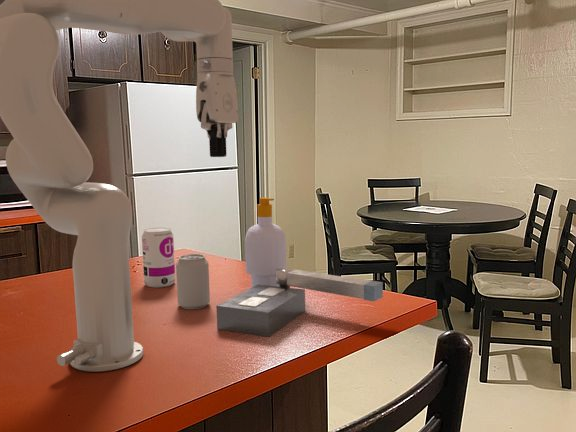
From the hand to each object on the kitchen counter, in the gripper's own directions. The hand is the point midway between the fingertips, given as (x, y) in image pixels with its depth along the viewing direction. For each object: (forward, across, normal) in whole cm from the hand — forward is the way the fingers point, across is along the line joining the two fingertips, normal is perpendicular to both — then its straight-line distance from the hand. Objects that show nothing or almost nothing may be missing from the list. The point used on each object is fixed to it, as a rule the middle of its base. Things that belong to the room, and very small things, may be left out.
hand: (218, 156), depth 121 cm
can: (+35, +3, +10) cm, 37 cm away
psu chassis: (+35, +2, -10) cm, 37 cm away
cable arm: (+30, +9, -21) cm, 37 cm away
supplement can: (+35, +16, +30) cm, 49 cm away
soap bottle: (+35, +19, -1) cm, 40 cm away
